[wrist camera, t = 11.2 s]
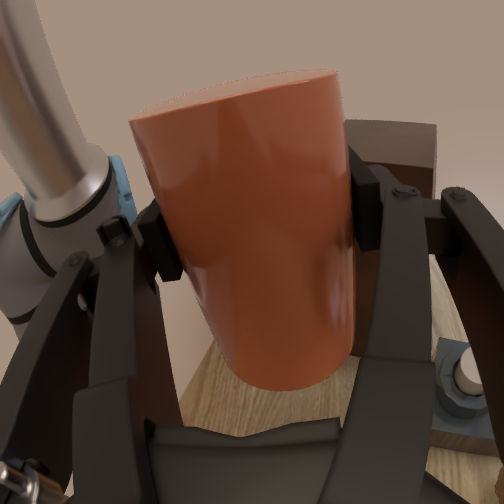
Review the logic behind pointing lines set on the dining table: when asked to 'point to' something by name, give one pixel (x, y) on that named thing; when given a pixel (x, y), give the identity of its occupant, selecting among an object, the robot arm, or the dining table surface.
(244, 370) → the orange cylinder
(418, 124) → the stand
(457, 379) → the round white push button
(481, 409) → the gray button box
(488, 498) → the dining table surface
